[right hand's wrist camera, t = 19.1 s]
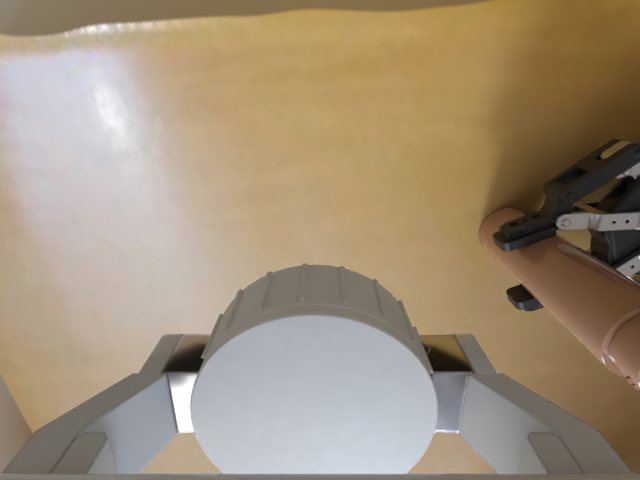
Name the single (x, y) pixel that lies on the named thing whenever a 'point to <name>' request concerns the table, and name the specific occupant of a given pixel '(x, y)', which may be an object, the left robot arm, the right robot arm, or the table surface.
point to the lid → (314, 379)
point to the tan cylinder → (577, 294)
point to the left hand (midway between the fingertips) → (505, 272)
